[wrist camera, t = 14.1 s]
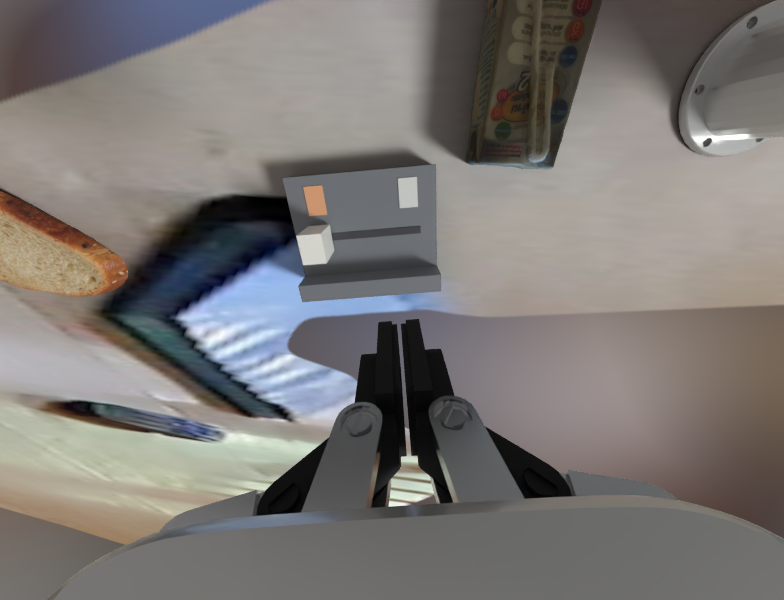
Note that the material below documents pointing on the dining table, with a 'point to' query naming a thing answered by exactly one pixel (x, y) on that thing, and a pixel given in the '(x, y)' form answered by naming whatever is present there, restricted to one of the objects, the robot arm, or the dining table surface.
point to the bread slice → (53, 254)
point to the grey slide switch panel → (369, 231)
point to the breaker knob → (315, 244)
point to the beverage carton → (528, 79)
